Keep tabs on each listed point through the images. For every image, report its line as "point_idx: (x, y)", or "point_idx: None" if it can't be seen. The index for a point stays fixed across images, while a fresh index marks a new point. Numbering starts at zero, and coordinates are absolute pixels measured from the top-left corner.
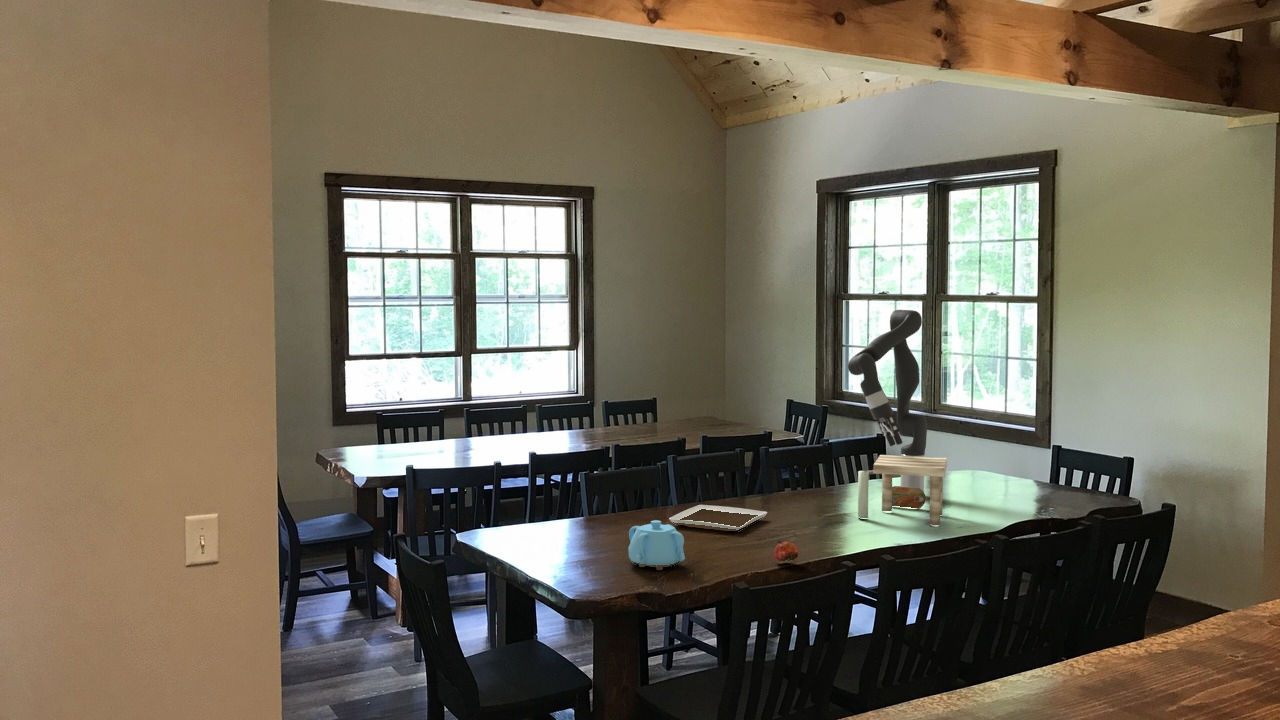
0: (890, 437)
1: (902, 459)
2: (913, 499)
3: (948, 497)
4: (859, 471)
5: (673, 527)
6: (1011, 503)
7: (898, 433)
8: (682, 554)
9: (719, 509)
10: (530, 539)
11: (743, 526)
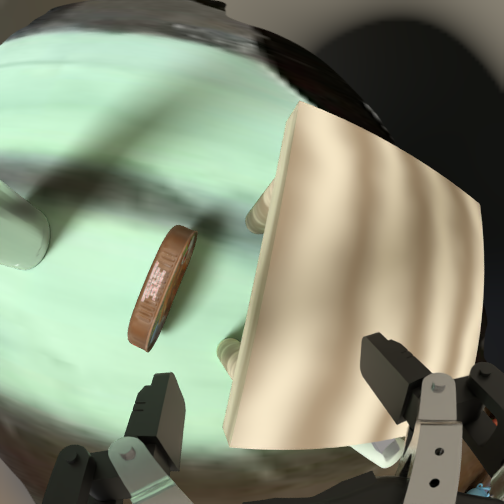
0: (168, 438)
1: (381, 328)
2: (180, 265)
3: (45, 152)
4: (387, 464)
5: None
6: (128, 58)
7: (430, 379)
8: (482, 484)
9: None
10: None
11: None
